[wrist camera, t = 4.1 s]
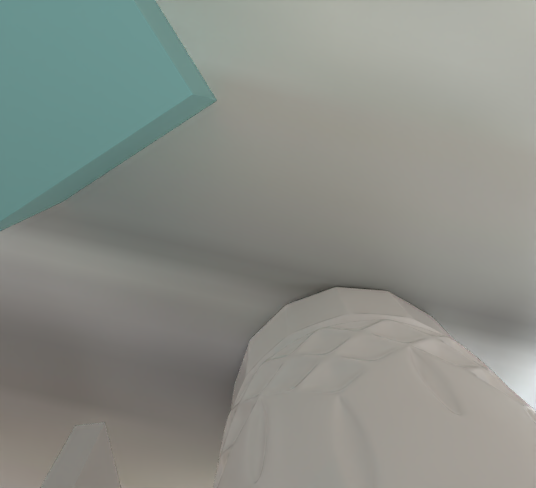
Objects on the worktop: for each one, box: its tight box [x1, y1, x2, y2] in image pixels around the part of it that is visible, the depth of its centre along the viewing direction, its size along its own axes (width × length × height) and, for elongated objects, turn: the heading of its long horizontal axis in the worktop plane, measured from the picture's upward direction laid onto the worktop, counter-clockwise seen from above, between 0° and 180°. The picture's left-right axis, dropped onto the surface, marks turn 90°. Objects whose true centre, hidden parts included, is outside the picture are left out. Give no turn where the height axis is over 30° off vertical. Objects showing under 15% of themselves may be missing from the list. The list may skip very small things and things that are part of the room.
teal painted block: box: [0, 0, 217, 231], centre depth 10 cm, size 5×5×5 cm
